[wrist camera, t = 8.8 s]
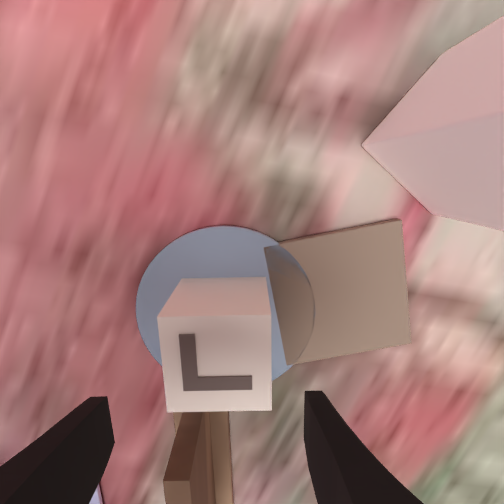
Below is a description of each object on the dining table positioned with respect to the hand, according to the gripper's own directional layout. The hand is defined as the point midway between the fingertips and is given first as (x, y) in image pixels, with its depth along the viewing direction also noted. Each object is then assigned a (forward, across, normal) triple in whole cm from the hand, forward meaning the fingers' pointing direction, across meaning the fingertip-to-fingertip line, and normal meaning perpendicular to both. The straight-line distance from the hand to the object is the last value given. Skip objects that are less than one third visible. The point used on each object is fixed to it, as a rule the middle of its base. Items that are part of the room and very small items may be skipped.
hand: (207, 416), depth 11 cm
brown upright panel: (+9, +2, +11) cm, 14 cm away
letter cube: (+8, 0, 0) cm, 8 cm away
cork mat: (+9, -7, -1) cm, 11 cm away
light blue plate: (+9, 0, 0) cm, 9 cm away
